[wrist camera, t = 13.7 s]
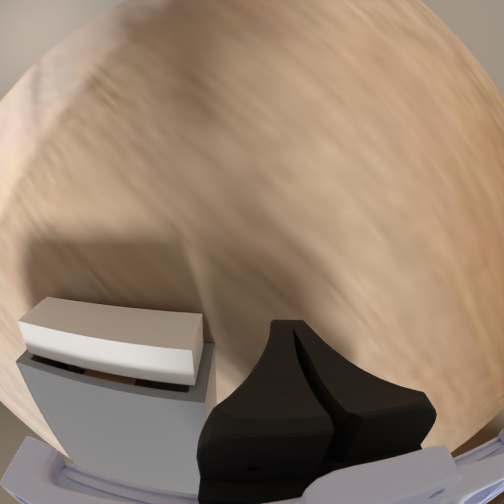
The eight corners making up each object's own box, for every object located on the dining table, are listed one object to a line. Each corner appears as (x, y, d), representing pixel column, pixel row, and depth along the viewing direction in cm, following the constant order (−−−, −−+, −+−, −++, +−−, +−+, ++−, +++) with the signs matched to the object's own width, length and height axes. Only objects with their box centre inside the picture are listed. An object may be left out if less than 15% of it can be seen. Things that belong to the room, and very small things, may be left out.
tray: (202, 313, 21) (191, 350, 16) (209, 426, 25) (204, 462, 20) (47, 296, 21) (17, 320, 16) (83, 403, 25) (67, 432, 20)
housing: (214, 343, 23) (204, 402, 16) (219, 449, 27) (215, 496, 21) (53, 322, 22) (15, 361, 16) (94, 427, 27) (76, 466, 21)
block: (146, 358, 22) (131, 389, 18) (153, 395, 23) (142, 426, 19) (99, 350, 22) (80, 378, 18) (110, 386, 23) (95, 414, 19)
